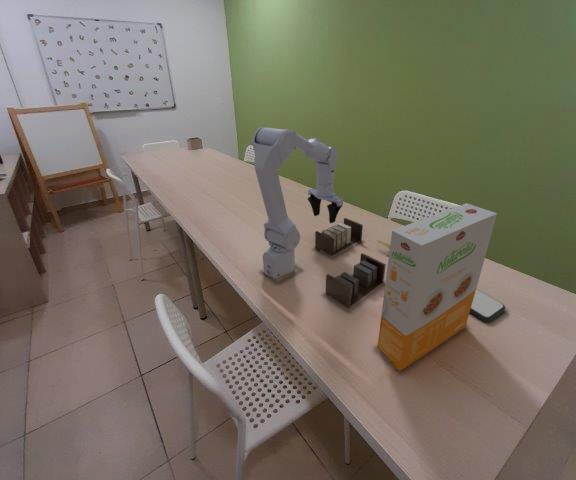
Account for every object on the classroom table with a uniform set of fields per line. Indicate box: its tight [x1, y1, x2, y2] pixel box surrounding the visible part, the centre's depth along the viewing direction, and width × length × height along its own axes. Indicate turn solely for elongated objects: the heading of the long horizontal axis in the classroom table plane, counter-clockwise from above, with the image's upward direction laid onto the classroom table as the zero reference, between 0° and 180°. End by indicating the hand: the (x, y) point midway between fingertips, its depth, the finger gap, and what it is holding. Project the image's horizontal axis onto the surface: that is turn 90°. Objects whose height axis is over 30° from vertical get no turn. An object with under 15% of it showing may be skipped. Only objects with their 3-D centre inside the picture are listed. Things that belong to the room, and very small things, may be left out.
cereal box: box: [377, 202, 498, 372], centre depth 63 cm, size 22×6×30 cm, turn 120°
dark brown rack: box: [314, 217, 364, 257], centre depth 106 cm, size 16×8×7 cm, turn 130°
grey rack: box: [325, 252, 387, 309], centre depth 83 cm, size 16×8×7 cm, turn 130°
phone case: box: [469, 288, 506, 323], centre depth 80 cm, size 9×2×16 cm
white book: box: [336, 222, 351, 244], centre depth 107 cm, size 2×5×6 cm, turn 40°
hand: (324, 218), depth 106 cm, fingers open, 7 cm apart
